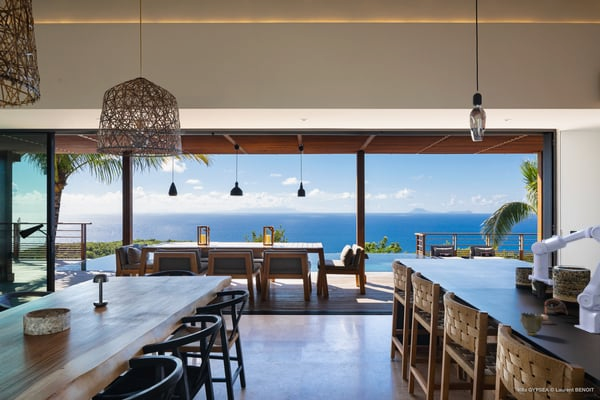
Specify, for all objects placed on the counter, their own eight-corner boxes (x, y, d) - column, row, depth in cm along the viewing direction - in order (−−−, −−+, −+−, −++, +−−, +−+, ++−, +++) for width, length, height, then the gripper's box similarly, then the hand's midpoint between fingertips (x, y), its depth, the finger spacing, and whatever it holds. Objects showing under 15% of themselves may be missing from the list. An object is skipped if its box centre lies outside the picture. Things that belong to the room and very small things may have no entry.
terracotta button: (549, 319, 166) (549, 316, 166) (543, 319, 166) (543, 316, 166) (545, 318, 169) (545, 314, 169) (538, 318, 169) (538, 314, 169)
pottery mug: (574, 318, 178) (568, 303, 176) (554, 326, 179) (548, 311, 177) (558, 305, 189) (553, 291, 188) (539, 312, 191) (534, 299, 189)
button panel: (551, 324, 165) (551, 321, 165) (527, 324, 164) (527, 321, 164) (544, 321, 170) (543, 318, 170) (520, 321, 169) (520, 318, 169)
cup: (522, 330, 155) (522, 311, 156) (544, 334, 151) (544, 314, 151) (519, 335, 150) (519, 314, 150) (541, 339, 145) (541, 318, 145)
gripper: (522, 265, 182) (522, 294, 181) (543, 270, 167) (543, 301, 167) (536, 265, 182) (536, 294, 182) (558, 270, 168) (559, 301, 167)
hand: (541, 297), depth 174 cm, fingers closed
